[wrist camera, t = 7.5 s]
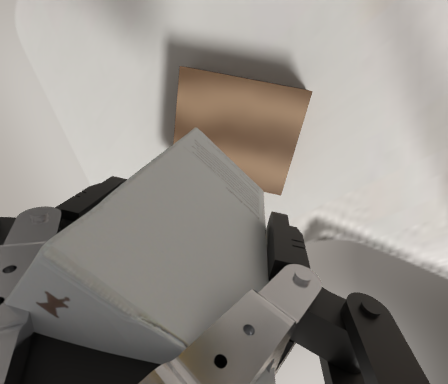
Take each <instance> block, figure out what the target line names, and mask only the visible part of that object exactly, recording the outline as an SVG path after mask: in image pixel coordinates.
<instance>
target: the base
mask: <svg viewBox="0 0 448 384" xmlns="http://www.w3.org/2000/svg"><path fill="white" fill-rule="evenodd" d="M311 95H312V91H309V90H305V89H300V88H295V87H289V86H284V85H279V84H274V83H268V82H263V81H258V80H253V79H247V78H242V77H237V76H232V75H227V74H221V73H216V72H211V71H206V70H200V69H195V68H190V67H182V66H180V69H179V81H178V94H177V106H176V118H175V130H174V142H173V144H174V143H176V142H177V141H178V140H180V139H181V138H182V137H184V136H185V135H186V134H188V133H189V132H190V131H192V130H193V129H194V128H198V129H199V130H200V131H201V132H203V133H204V134H205V135H206V136H207V137H208V138H209V139H210V140H211V141H212V142H213V143H214V144H215V145H216V146H217V147H218V148H219V149H220V150H221V151H222V152H223V153H224V154H225V155H226V156H227V157H229V158H230V159H231V160H232V161H233V162H234V163H235V164H236V165H237V166H238V167H239V168H240V169H241V170H242V171H243V172H244V173H245V174H246V175H247V176H248V177H249V178H251V179H252V180H253V181H254V182H255V183H256V184H257V185H258V186H259V187H260V188H261V189H262V190H263V192H268V193H272V194H277V195H281V193H282V190H283V187H284V184H285V180H286V177H287V174H288V170H289V167H290V164H291V161H292V157H293V154H294V151H295V147H296V144H297V141H298V137H299V134H300V131H301V128H302V124H303V121H304V118H305V114H306V111H307V108H308V104H309V101H310V98H311Z"/></svg>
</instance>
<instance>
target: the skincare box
mask: <svg viewBox="0 0 448 384" xmlns="http://www.w3.org/2000/svg"><path fill="white" fill-rule="evenodd" d="M268 283H269V280H268V259H267V243H266V226H265V211H264V193H263V190H262V189H261V188H260V187H259V186H258V185H257V184H256V183H255V182H254V181H253V180H252V179H251V178H249V177H248V176H247V175H246V174H245V173H244V172H243V171H242V170H241V169H240V168H239V167H238V166H237V165H236V164H235V163H234V162H233V161H232V160H231V159H230V158H229V157H227V156H226V155H225V154H224V153H223V152H222V151H221V150H220V149H219V148H218V147H217V146H216V145H215V144H214V143H213V142H212V141H211V140H210V139H209V138H208V137H207V136H206V135H205V134H204V133H203V132H201V131H200V130H199V129H198V128H194V129H193V130H192V131H190V132H189V133H188V134H186V135H185V136H184V137H182V138H181V139H180V140H178V141H177V142H176V143H174V144H173V145H172V146H170V147H169V148H168V149H167V150H165V151H164V152H163V153H161V154H160V155H159V156H157V157H156V158H155V159H153V160H152V161H151V162H150V163H148V164H147V165H146V166H144V167H143V168H142V169H140V170H139V171H138V172H137V173H135V174H134V175H133V176H131V177H130V178H129V179H128V180H126V181H125V182H124V183H122V184H121V185H120V186H119V187H118V188H116V189H115V190H114V191H113V192H111V193H110V194H109V195H108V196H107V197H106V198H104V199H103V200H102V201H101V202H100V203H99V204H97V205H96V206H95V207H94V208H93V209H91V210H90V211H89V212H87V213H86V214H84V215H83V216H82V217H80V218H79V219H77V220H76V221H75V222H73V223H72V224H70V225H69V226H68V227H66V228H65V229H63V230H62V231H60V232H59V233H58V234H56V235H55V236H53V237H52V238H51V239H49V240H48V241H47V242H46V243H45V244H44V245H43V246H42V247H41V248H40V250H39V252H38V254H37V255H36V257H35V258H34V260H33V261H32V263H31V265H30V266H29V267H28V269H27V270H26V272H25V273H24V275H23V276H22V277H21V279H20V280H19V282H18V283H17V284H16V286H15V287H14V289H13V290H12V292H11V293H10V295H9V296H8V297H7V299H6V300H5V302H4V303H5V304H6V305H9V306H13V307H16V308H19V309H23V310H26V311H29V312H30V315H31V319H32V323H33V327H34V331H33V332H36V333H39V334H42V335H45V336H49V337H52V338H55V339H59V340H62V341H66V342H70V343H73V344H77V345H81V346H84V347H88V348H92V349H96V350H100V351H103V352H108V353H112V354H116V355H121V356H125V357H130V358H134V359H139V360H143V361H148V362H152V363H157V364H164V363H167V362H170V361H172V360H174V359H175V358H176V357H177V356H179V355H180V354H181V353H182V352H183V351H184V350H185V349H186V348H187V347H188V346H190V345H191V344H192V343H193V342H194V341H195V340H196V339H197V338H198V337H199V336H200V335H202V334H203V333H204V332H205V331H206V330H207V329H208V328H209V327H210V326H211V325H213V324H214V323H215V322H216V321H217V320H218V319H219V318H220V317H221V316H222V315H223V314H225V313H226V312H227V311H228V310H229V309H230V308H231V307H232V306H233V305H234V304H236V303H237V302H238V301H239V300H240V299H241V298H242V297H243V296H244V295H245V294H246V293H248V292H249V291H250V290H253V289H254V290H255V291H257V292H259V291H260V290H261V289H262V288H263V287H264V286H265V285H266V284H268ZM255 384H275V368H274V367H273V369H272V370H271V371H270V372H268V371H267V369H265V370H264V372H263V373H262V374H261V376H260V377H259V379H258V380H257V382H256V383H255Z"/></svg>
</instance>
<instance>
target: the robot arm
mask: <svg viewBox="0 0 448 384" xmlns="http://www.w3.org/2000/svg"><path fill="white" fill-rule="evenodd" d="M126 180H128V179H123V178H119V177H114V176H112V177H110V178H109V179H107V180H106V181H104V182H102V183H99V184H96V185H93V186H89V187H88V188H86V189H85V190H83V191H82V192H80V193H78V194H76V195H75V196H73V197H72V198H70V199H68V200H67V201H65V202H64V203H62V204H60V205H59V206H57V207H55V208H54V207H36V208H32V209H29V210H26V211H24V212H22V213H20V214H19V215H18V216H17V218H11V217H0V384H255V383H256V382H257V380H258V379H259V377H260V376H261V374H262V373H263V372H264V370H265V369H267V371H268V372H270V371H271V370H272V369H273V367H274V368H275V375H276V373H277V372H278V370H279V369H280V367H281V365H282V364H283V362H284V361H285V359H286V358H287V356H288V355H289V353H290V352H291V350H292V348H293V347H294V345H295V344H296V343H297V344H299V345H301V346H303V347H304V348H306V349H308V350H309V351H311V352H313V353H315V354H316V355H318V356H319V358H320V363H321V367H322V371H323V376H324V381H325V384H430V383H429V381H428V379H427V377H426V376H425V374H424V372H423V371H422V369H421V367H420V365H419V363H418V362H417V360H416V358H415V356H414V354H413V353H412V351H411V349H410V347H409V345H408V344H407V342H406V340H405V338H404V337H403V335H402V333H401V331H400V329H399V328H398V326H397V324H396V322H395V320H394V319H393V317H392V315H391V314H390V312H389V311H388V309H387V308H386V307H385V306H384V305H383V304H381V303H380V302H379V301H378V300H376V299H374V298H373V297H371V296H369V295H366V294H363V293H351V294H349V295H348V297H347V299H344V298H342V297H339V296H337V295H335V294H333V293H331V292H329V291H327V290H326V289H324V288H323V287H322V282H321V280H320V278H319V277H318V275H317V274H316V273H315V272H313V271H312V270H311V269H310V265H309V261H308V257H307V253H306V249H305V244H304V239H303V235H302V234H301V232H300V231H299V230H298V229H297V227H293V226H289V221H288V215H285V214H281V213H276V212H271V215H270V218H269V221H268V225H267V228H266V243H267V259H268V280H269V283H268V284H266V285H265V286H264V287H263V288H262V289H261V290H260V291H259V292H257V291H255V290H254V289H253V290H250V291H249V292H248V293H246V294H245V295H244V296H243V297H242V298H241V299H240V300H239V301H238V302H237V303H236V304H234V305H233V306H232V307H231V308H230V309H229V310H228V311H227V312H226V313H225V314H223V315H222V316H221V317H220V318H219V319H218V320H217V321H216V322H215V323H214V324H213V325H211V326H210V327H209V328H208V329H207V330H206V331H205V332H204V333H203V334H202V335H200V336H199V337H198V338H197V339H196V340H195V341H194V342H193V343H192V344H191V345H190V346H188V347H187V348H186V349H185V350H184V351H183V352H182V353H181V354H180V355H179V356H177V357H176V358H175V359H174V360H172V361H170V362H167V363H164V364H157V363H152V362H148V361H143V360H139V359H134V358H130V357H125V356H121V355H116V354H112V353H108V352H103V351H100V350H96V349H92V348H88V347H84V346H81V345H77V344H73V343H70V342H66V341H62V340H59V339H55V338H52V337H49V336H45V335H42V334H39V333H36V332H33V331H34V327H33V323H32V319H31V315H30V312H29V311H26V310H23V309H19V308H16V307H13V306H9V305H6V304H5V303H4V302H5V300H6V299H7V297H8V296H9V295H10V293H11V292H12V290H13V289H14V287H15V286H16V284H17V283H18V282H19V280H20V279H21V277H22V276H23V275H24V273H25V272H26V270H27V269H28V267H29V266H30V265H31V263H32V261H33V260H34V258H35V257H36V255H37V254H38V252H39V250H40V248H41V247H42V246H43V245H44V244H45V243H46V242H47V241H48V240H49V239H51V238H52V237H53V236H55V235H56V234H58V233H59V232H60V231H62V230H63V229H65V228H66V227H68V226H69V225H70V224H72V223H73V222H75V221H76V220H77V219H79V218H80V217H82V216H83V215H84V214H86V213H87V212H89V211H90V210H91V209H93V208H94V207H95V206H96V205H97V204H99V203H100V202H101V201H102V200H103V199H104V198H106V197H107V196H108V195H109V194H110V193H111V192H113V191H114V190H115V189H116V188H118V187H119V186H120V185H121V184H122V183H124V182H125V181H126Z"/></svg>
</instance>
